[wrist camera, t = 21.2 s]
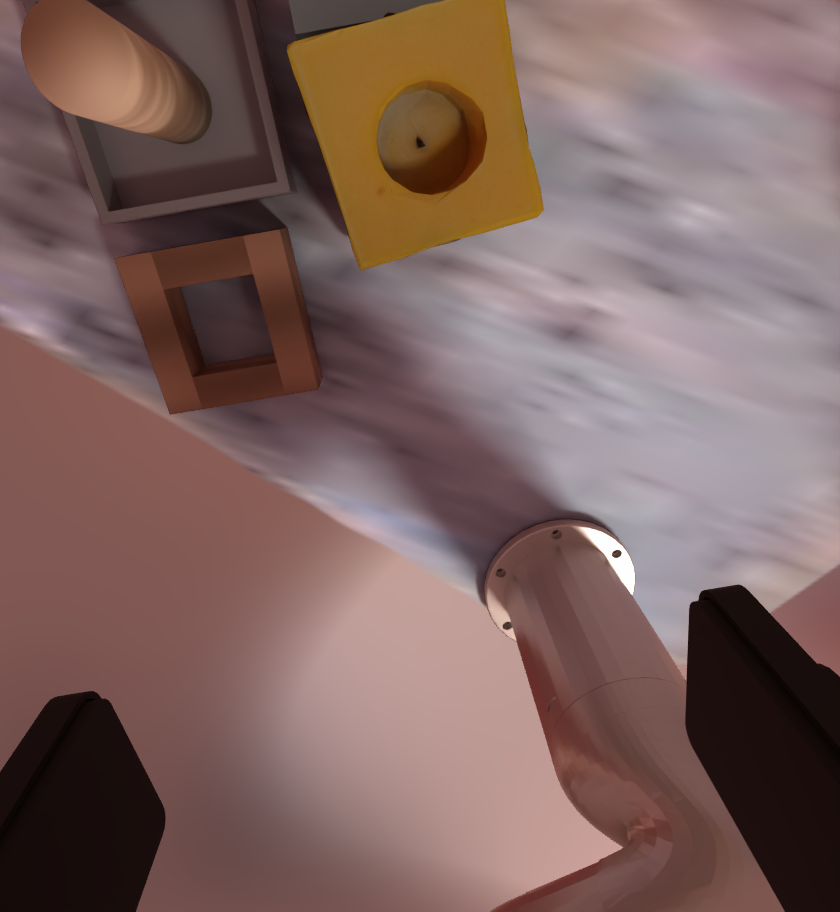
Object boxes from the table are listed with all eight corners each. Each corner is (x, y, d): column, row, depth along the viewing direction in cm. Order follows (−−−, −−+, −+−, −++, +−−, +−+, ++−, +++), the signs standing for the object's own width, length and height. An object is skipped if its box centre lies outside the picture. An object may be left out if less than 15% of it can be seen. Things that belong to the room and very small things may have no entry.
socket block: (322, 377, 41) (318, 389, 38) (184, 400, 41) (170, 414, 39) (287, 227, 37) (279, 229, 34) (134, 254, 37) (114, 258, 34)
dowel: (220, 138, 34) (143, 107, 23) (154, 149, 34) (46, 124, 23) (200, 58, 33) (106, -14, 22) (130, 70, 33) (2, 3, 22)
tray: (297, 192, 36) (290, 191, 34) (122, 223, 36) (102, 224, 34) (247, -29, 32) (235, -50, 29) (47, 7, 32) (18, -10, 29)
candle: (304, 83, 34) (275, 39, 25) (470, 28, 34) (502, -37, 24) (359, 258, 38) (351, 275, 29) (508, 212, 38) (547, 215, 28)
